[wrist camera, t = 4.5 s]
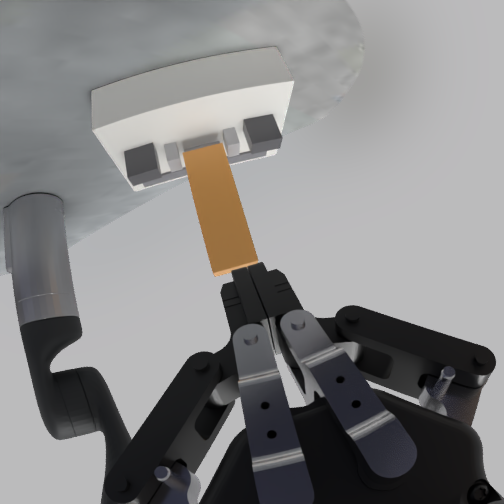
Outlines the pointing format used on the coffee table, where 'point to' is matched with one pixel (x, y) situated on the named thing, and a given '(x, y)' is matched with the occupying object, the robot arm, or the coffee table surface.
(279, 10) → the coffee table surface
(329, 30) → the coffee table surface
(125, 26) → the coffee table surface
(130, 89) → the white slotted plate
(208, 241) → the breaker handle
